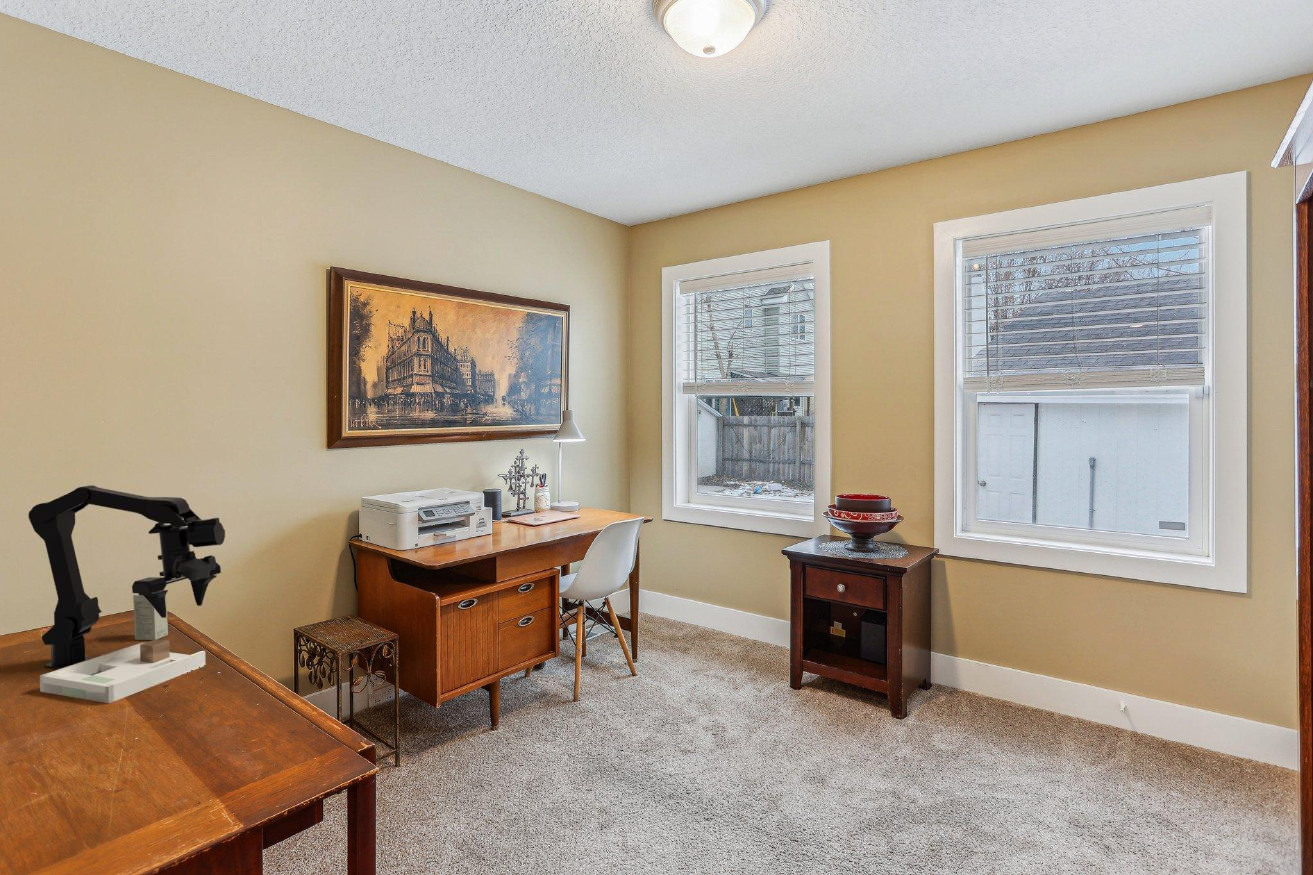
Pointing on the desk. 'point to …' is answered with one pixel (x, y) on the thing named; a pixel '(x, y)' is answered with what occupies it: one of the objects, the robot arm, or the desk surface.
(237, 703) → the desk surface
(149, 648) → the block
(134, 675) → the platform
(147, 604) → the skincare box
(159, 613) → the robot arm
